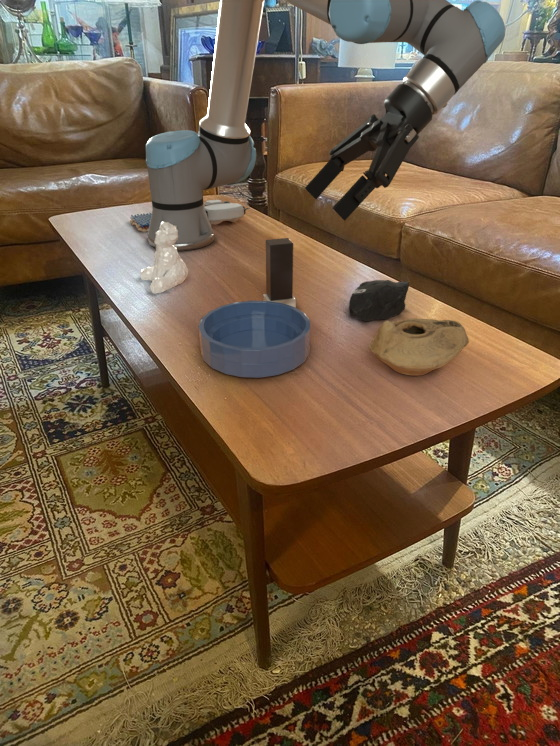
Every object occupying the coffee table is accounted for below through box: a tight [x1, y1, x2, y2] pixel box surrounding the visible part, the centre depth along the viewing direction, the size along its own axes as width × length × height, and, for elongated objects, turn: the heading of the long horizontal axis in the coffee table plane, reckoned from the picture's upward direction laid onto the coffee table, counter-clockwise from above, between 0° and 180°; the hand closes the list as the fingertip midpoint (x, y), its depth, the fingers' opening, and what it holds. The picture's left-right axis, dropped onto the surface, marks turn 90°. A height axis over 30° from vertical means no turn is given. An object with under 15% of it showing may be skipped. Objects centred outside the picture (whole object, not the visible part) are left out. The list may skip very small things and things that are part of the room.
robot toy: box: [203, 199, 251, 225], centre depth 143 cm, size 12×4×15 cm
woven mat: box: [129, 212, 152, 233], centre depth 140 cm, size 10×11×2 cm
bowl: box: [198, 300, 311, 379], centre depth 82 cm, size 16×16×5 cm
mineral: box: [348, 279, 410, 322], centre depth 94 cm, size 10×9×6 cm
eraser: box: [262, 237, 297, 308], centre depth 95 cm, size 5×4×12 cm
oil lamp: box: [368, 318, 470, 376], centre depth 78 cm, size 11×15×8 cm
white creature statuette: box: [140, 221, 189, 295], centre depth 104 cm, size 10×9×12 cm
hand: (323, 203), depth 90 cm, fingers open, 13 cm apart
